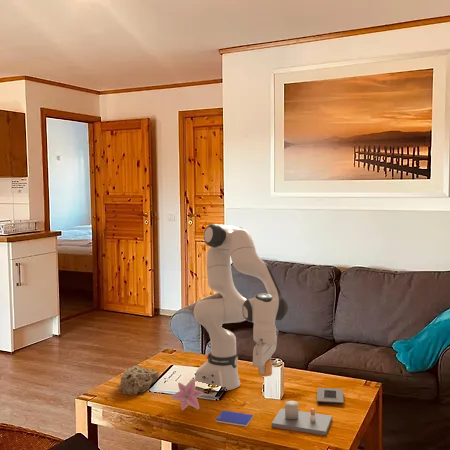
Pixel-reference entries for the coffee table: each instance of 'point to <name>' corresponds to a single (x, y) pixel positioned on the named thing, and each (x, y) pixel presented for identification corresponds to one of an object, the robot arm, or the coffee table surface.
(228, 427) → the coffee table surface
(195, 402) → the lily
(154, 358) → the coffee table surface
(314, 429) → the plate
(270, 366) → the orange rounded cylinder
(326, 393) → the electrical outlet
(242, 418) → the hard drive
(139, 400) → the coffee table surface
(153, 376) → the rock
